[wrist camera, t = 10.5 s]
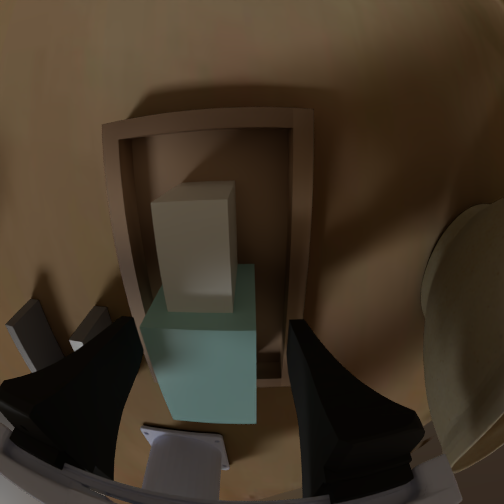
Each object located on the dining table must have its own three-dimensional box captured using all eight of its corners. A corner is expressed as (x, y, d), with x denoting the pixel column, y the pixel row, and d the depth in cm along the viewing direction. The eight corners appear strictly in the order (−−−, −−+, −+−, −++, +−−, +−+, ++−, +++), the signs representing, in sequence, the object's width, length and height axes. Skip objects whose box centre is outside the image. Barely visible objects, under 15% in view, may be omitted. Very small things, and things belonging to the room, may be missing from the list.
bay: (133, 377, 18) (119, 412, 14) (60, 362, 18) (43, 390, 14) (106, 307, 15) (82, 342, 12) (30, 298, 15) (5, 324, 12)
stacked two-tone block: (255, 354, 15) (256, 423, 11) (189, 352, 16) (173, 419, 11) (253, 180, 12) (255, 206, 7) (164, 183, 12) (114, 213, 7)
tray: (290, 363, 17) (293, 385, 15) (161, 360, 17) (154, 382, 15) (303, 113, 11) (313, 108, 9) (121, 125, 11) (101, 124, 9)
